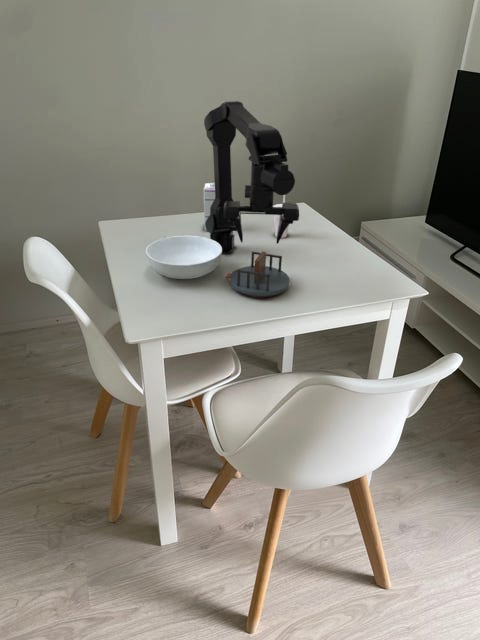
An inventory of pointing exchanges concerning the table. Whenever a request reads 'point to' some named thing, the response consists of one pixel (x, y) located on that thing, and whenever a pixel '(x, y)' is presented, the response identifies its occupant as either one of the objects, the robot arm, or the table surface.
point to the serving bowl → (184, 256)
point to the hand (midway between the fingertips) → (259, 242)
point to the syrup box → (208, 199)
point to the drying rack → (260, 277)
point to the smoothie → (277, 220)
